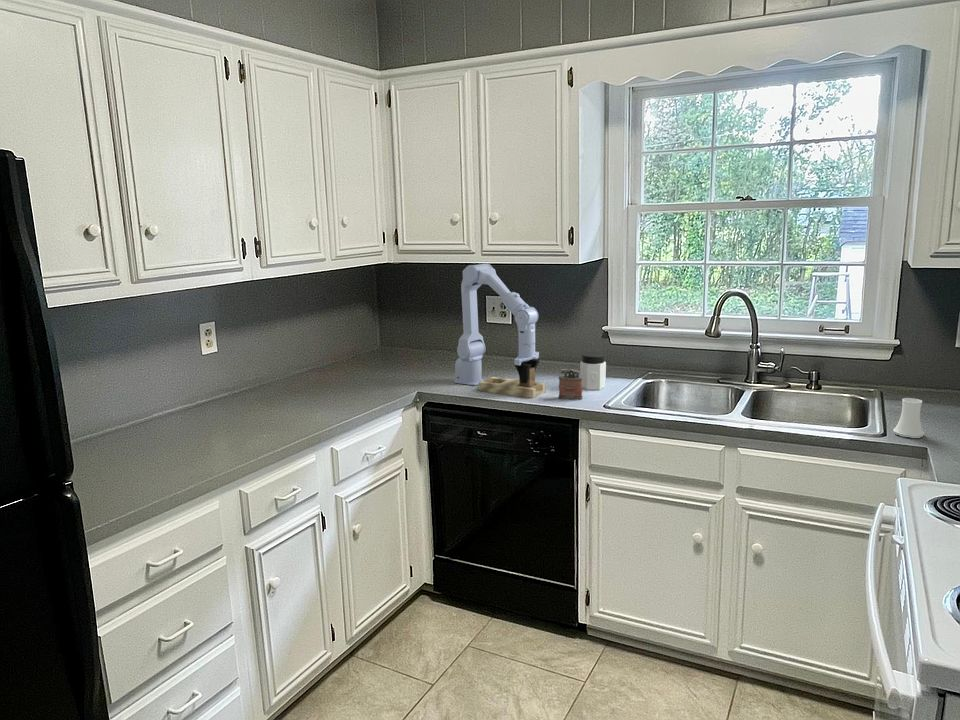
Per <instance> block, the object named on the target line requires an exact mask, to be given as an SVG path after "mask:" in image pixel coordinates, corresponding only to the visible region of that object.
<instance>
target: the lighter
mask: <svg viewBox="0 0 960 720" xmlns="http://www.w3.org/2000/svg"><path fill="white" fill-rule="evenodd" d="M560 374H564V375H558V382H559V383H558V384H559V385H558V387H559V388H558V390H559V392H558V399H560V400H570V401H572V400H573V401H575V400H576V401H581V400H583V388H582V380H583V377H581V376H580V370H575V369H573V368H571V369H562V368H561V369H560Z"/></svg>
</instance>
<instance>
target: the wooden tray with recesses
mask: <svg viewBox="0 0 960 720" xmlns="http://www.w3.org/2000/svg"><path fill="white" fill-rule="evenodd" d="M478 391H480V392H485V391H486V393H495V394H500V393H501V395H510V396H515V397H521V396H522V397H523V398H528V397H529V399H535V398H536V397H538V396H540V395H542V394H543V393H546V383H545V382H537V381H535V386H533V387H531V388H530V387H522V386H519V379H515V378H513V379H512V378H506V377H497V376H490V377H488V378H486V379H484V380H483V381H481V382H479V384H478ZM522 397H521V398H522Z"/></svg>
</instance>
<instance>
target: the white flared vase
mask: <svg viewBox="0 0 960 720" xmlns="http://www.w3.org/2000/svg"><path fill="white" fill-rule="evenodd" d="M901 401H902V406H901V407H902V408H901V413H900V417H899V420H898V422H897V424H896V426H895V427H894V428H893V429H892V430H893V431H894V432H896V433H899V434H902V435H908V436H922V435H924V436H925V432H924V430H923V427H922V424H921V407H922V404H923V400H922V399H918V398H914V397H913V398H912V397H904V398H902V399H901ZM893 431H892V432H893Z"/></svg>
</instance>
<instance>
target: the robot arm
mask: <svg viewBox="0 0 960 720" xmlns="http://www.w3.org/2000/svg"><path fill="white" fill-rule="evenodd" d="M460 284H461V285H460V289H461V292H460V293H461V307H462V309H461V310H462V327H463V329H462V330H463V333H462V335H461V336H460V337H459V339H458V345H457V347H456V353H457V355H458V358H457V359H456V360H455V363H454V364H455V365H454V382H453V383H455V384H462V385H470V386H479V382H481V381H483V380H485V379H483V378H482V377H483V373H482V372H483V370H482V367H483V366H482V359H483V356H484V355H485V353H486V344H485V342H484V337H483V335H482V334H481V333H480V332H479V331H480V330H479V314H478V313H479V312H478V311H479V310H478V293H477V292H478V291H477V290H478V289H479V288H480V287H481V286H482V285H488V286H489V287H490V288H491V289H492V290H493V291H494V292H495V293H496V294H498V295H499V296H500V297H501V299H503V300H502V303H503V305H504V306H505V307H506V309H507V310H509V312H510V313H511V314H512V315H513V316H514V321H515V323H516V326H517V331H518V355H517V357H516V358H514V367H515V368H516V371H517V373H518V377H520V381H521V383H527V381H528V373H529V369H530V367H534V368H535V371H537V367H538V365H539V364H540V359H539V358H540V352H539V351H536V323H537V322H538V321H539V312H538V310H537V309H536V308H535V307H534V306H529V304H528V303H527V302H525V300H524V299H522V297H520V293H518V292H515V291H512V292H511V291H510V289H509V288H508V287H507V285H506V284H505V283H504V282H503V281H502V280H501V278H500V277H499V276H498V274H497V273H496V269H495V268H494V267H493V266H492V265H491V264H490V263H487V262H485V263H481V264H469V265H467V266H466V267H465V268H464V269H463V270H462V281H461V283H460Z"/></svg>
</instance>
